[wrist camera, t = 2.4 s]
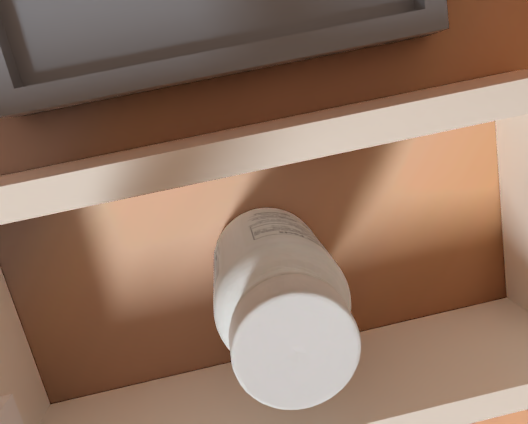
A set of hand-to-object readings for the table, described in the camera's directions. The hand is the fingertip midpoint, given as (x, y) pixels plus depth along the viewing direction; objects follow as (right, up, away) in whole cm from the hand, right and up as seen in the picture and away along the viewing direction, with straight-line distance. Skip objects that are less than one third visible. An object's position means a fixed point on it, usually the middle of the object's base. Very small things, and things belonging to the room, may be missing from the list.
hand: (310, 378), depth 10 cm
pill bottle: (-1, +2, +9) cm, 9 cm away
